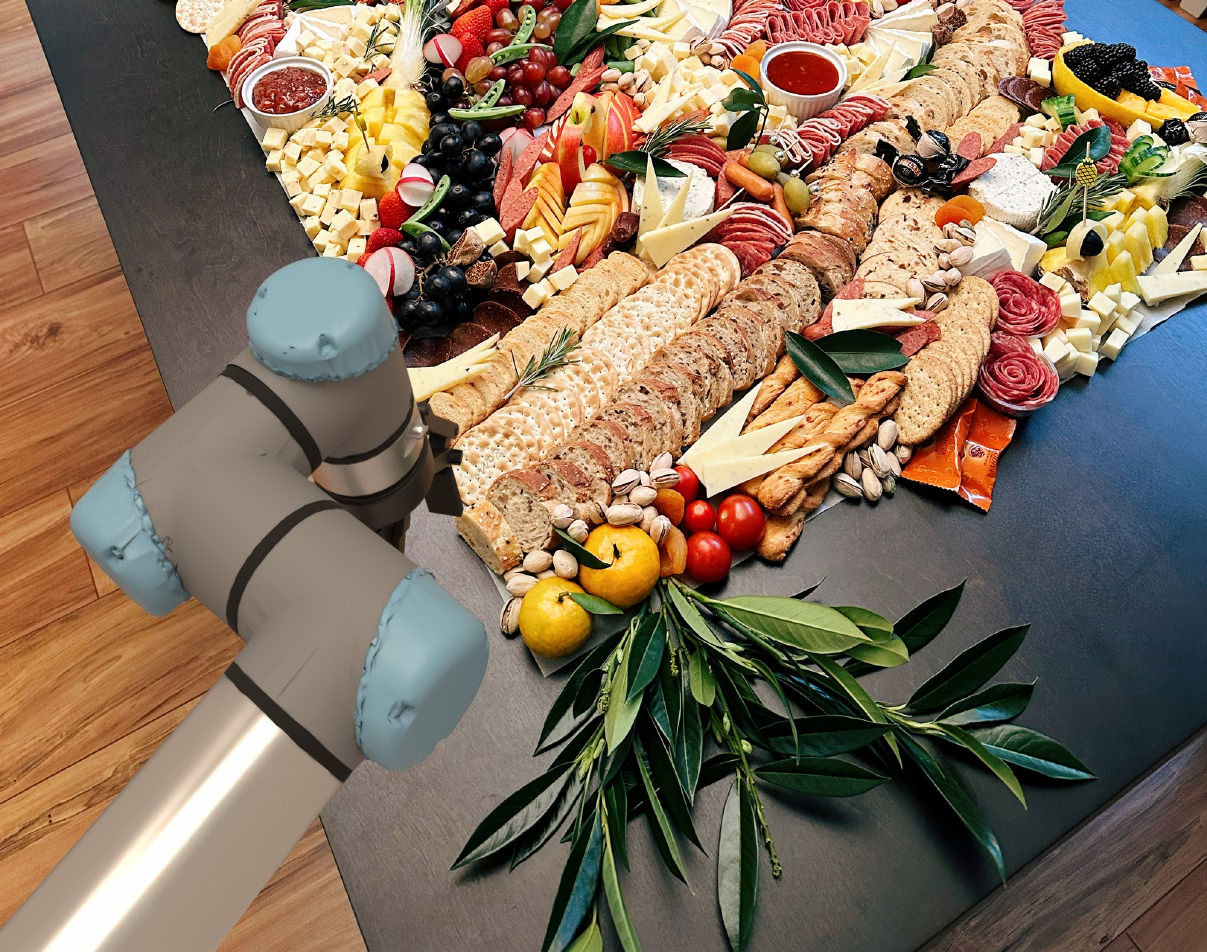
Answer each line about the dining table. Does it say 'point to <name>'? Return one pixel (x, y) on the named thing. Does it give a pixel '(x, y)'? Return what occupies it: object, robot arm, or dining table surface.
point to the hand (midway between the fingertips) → (421, 592)
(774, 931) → the dining table surface
